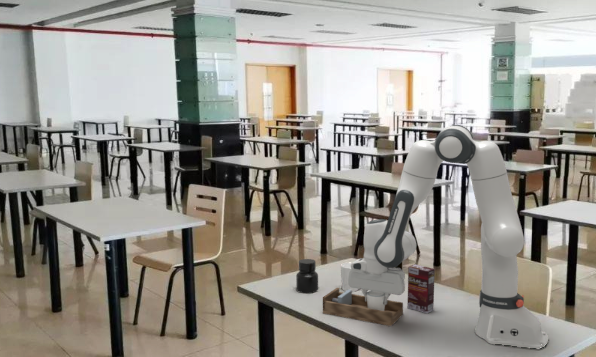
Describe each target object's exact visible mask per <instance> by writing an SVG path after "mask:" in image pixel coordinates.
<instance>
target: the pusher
mask: <svg viewBox="0 0 596 357" xmlns="http://www.w3.org/2000/svg"><path fill="white" fill-rule="evenodd" d="M352 294H353V293H352V290H347V291H344V292H343V294H341V295H340V296H338V299H337V298H333V299H332V302H336V303H341V304H347V305H351V304H352Z"/></svg>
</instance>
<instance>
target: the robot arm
mask: <svg viewBox="0 0 596 357" xmlns="http://www.w3.org/2000/svg"><path fill="white" fill-rule="evenodd" d="M443 162H446V163H450V164H461V165H466V166H467V167H468V172H469V175H470V180H471V185H472V189H473V194H474V199H475V203H476V207H477V210H478V213H479V216H480V221H481V226H480V247H481V248H480V252H481V289H480V290H479V298H478V299H479V300H478V304H479V312H478V318H477V322H476V325H475V329H474V333H475V334H476V336H478V337H480V338H481V339H483V340H485V341H486V342H487V343H488V344H490V345H495V344H502V345H501V346H504V345H512V346H517V347H516V348H521V347H530V348H540V347H543V346H544V345H545V344H546V343H547V342H548V343H549V341H548V338H549V335H548V333H547V332H545V330H544V331H543V330H542V325H541V321H540V319H539V317H538V316H536V315H535V314H534V313H533V312H532V311H531V310H529V309H528V308H527V307H526V306H524V304H525V302H524V300H525V298H524V297H525V296H524V294H522V295H521V293H518V285H519V267H518V258H517V255H518V254H519V253H521V251H522V250H523V249H524V246H525V237H524V236H525V235H524V233H523V229H522V228H523V227H522V225H521V221H520V218H519V214H518V211H517V208H516V205H515V201H514V198H513V195H512V189H511V186H510V180H509V177H508V171H507V167H506V163H505V160H504V157H503V155H502V151H501V150H500V147H499V146H498V145H497V143H495V142H494V141H490V140H481V141H477V140H474V137H473V134H472V132H471V131H470V130H469V129H468V128H467V127H465V126H464V125H460V124H455V125H449V126H447V127H445V128H443V129H442V130H441V131H440V132H439V133H438V135H437V136H436V138H435V139H434V140H426V139H422V140H421V139H420V140H416V141H415V142H413V144H412V145H411V146H410V148H409V150H408V153H407V155H406V159H405V160H404V164H403V168H402V171H401V175H400V180H399V184H398V186H397V191H396V194H395V198H394V201H393V203H392V207H391V210H390V213H389V216H388V219H383V218H379V219H377V218H376V219H375V220H374V219H373V220H370V221H368V222H367V223H366V224H365V226H364V231H363V232H364V234H363V248H364V252H363V258H358V259H356V260H354V261H352V262H350V263H351V270H350V272H349V278H348V284H349V286H350V287H351V288H357V289H358V290H359V289H360V290H361V293H362V296H365V301H366V302H367V292H369V291H376V292H382V293H385V296H386V297H385V299H384V301H383V304H384V305H386V304H387V300H389V298H390V296H391V295H396V296H401V295H402V294H403V293H405V291H406V286H405V285H406V283H405V279H406V278H405V277H406V275H405V274H406V273H405V271H404V270H403V269H402V268H401V267H398V266H399V265H400V264H401V263H403V261H405V260H407V259H408V258H409V257H411V256H412V255H413V254H414V253H415V252H416V250H417V240H416V238H415V236H414V235H413V233H411V232H410V231H407V228H408V224H409V221H410V217H411V216H412V214H413V212H414V211H415V210H416V209H417V208H418V207H419V205H421V203H423V202H424V201H425V200H426V199H427V198H428V197H429V196H430V194H431V191H433V187H434V186H435V181H436V179H437V174H438V171H439V168H440V167H441V166H440V165H441V164H442V163H443ZM541 344H542V345H541ZM512 346H511V347H512ZM530 348H529V349H530Z"/></svg>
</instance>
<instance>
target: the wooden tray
mask: <svg viewBox="0 0 596 357" xmlns="http://www.w3.org/2000/svg"><path fill="white" fill-rule="evenodd" d="M343 293H344V292H342V291H340V287H336V288H334V289H333V290H331V291H330V292H329V293H326V294H325V295H324V296H322V314H325V315H330V316H335V317H341V318H346V319H352V320H358V321H361V322H368V323H373V324H379V325H384V326H388V327H392V326H393V325H394V324H395V323H396V322H398V320H399V319H400V318H401V317H402V316H403V314H404V303H403V302H401V301H396V300H389V299H387V304H386V305H385V309H384V311H381V310H375V309H369V308H368V304H367V302H366V301H365V296H364V295H360V294H355V293H352V304H351V305H347V304H341V303H336V302H332V299H333V298H337V299H338V296H340V295H341V294H343Z"/></svg>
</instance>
